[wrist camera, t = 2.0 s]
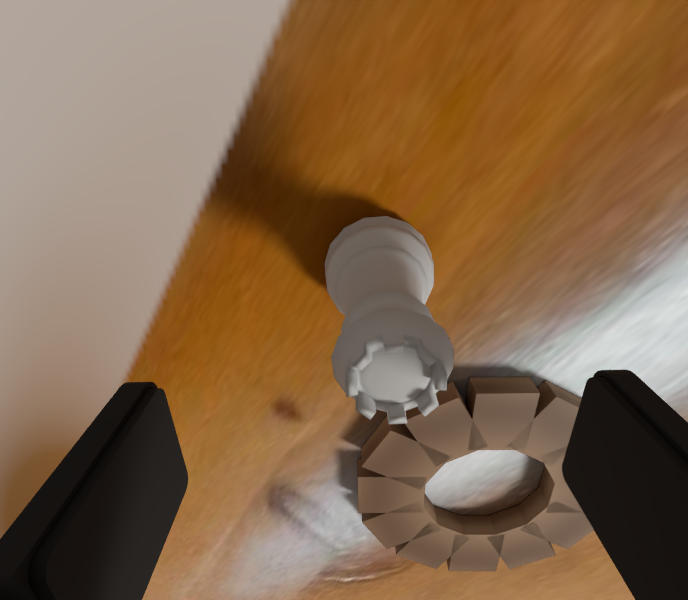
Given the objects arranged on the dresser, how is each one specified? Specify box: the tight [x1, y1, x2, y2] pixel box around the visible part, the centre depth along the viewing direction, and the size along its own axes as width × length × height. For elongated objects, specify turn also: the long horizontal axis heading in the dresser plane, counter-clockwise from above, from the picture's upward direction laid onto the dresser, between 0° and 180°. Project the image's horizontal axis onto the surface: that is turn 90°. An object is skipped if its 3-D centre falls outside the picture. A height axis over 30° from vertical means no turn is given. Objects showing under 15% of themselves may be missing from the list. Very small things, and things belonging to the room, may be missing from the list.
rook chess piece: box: [324, 216, 454, 424], centre depth 13 cm, size 4×4×8 cm
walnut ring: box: [357, 377, 594, 571], centre depth 22 cm, size 14×14×1 cm
